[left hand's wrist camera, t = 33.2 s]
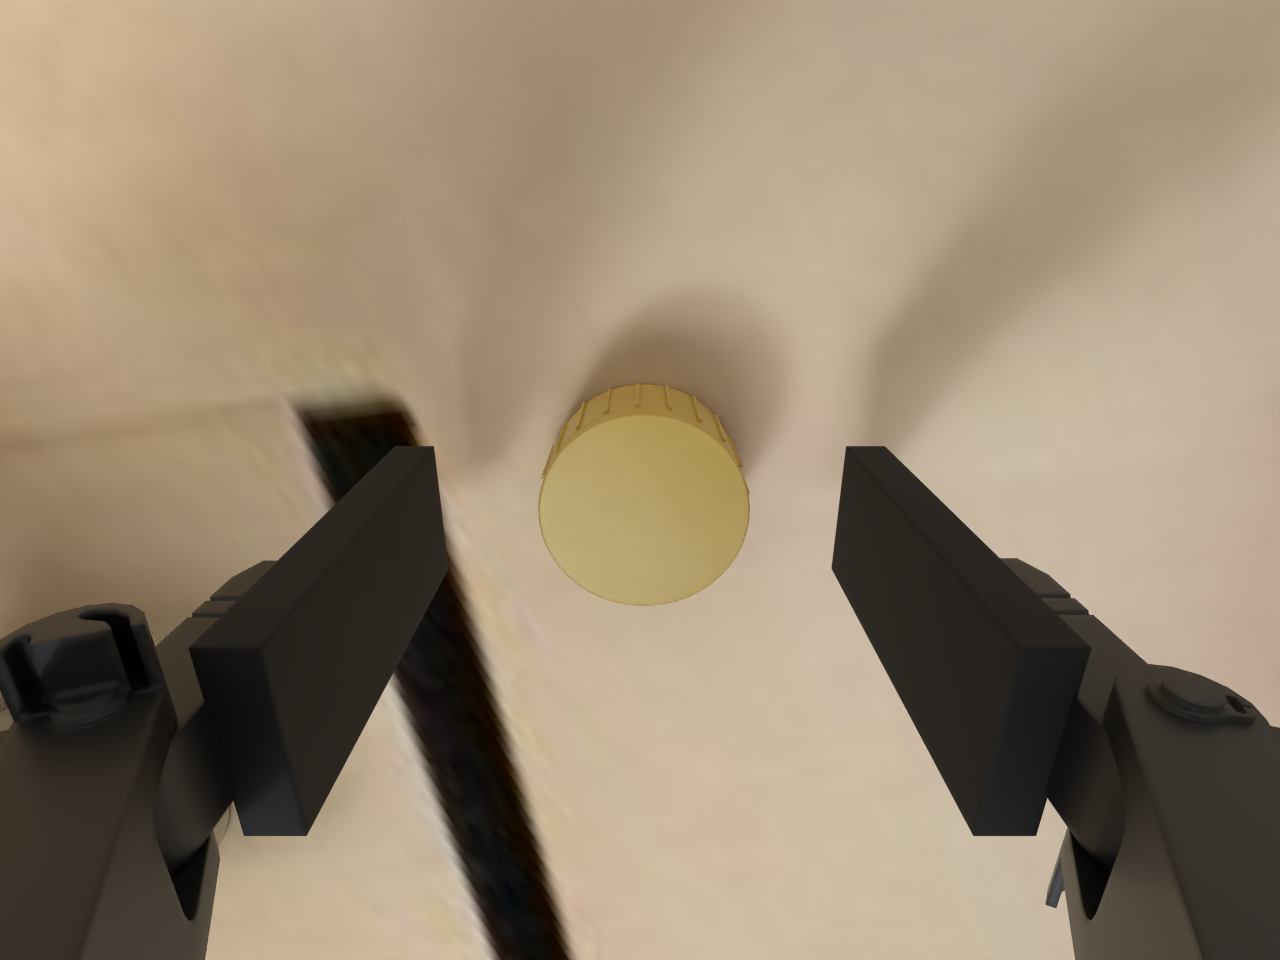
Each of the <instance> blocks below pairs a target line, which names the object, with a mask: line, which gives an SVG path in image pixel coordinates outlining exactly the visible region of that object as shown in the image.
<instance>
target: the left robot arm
mask: <svg viewBox="0 0 1280 960" xmlns="http://www.w3.org/2000/svg"><path fill="white" fill-rule="evenodd" d="M447 570H448V561H447V552H446V544H445V536H444V527H443V519H442V511H441V502H440V494H439V486H438V477H437V469H436V461H435V452H434V446H395V447H394V448H393V449H392V450H391V451H390V452H389V453H388V454H387V455H386V456H385V457H384V458H383V459H382V460H381V461H380V462H379V463H378V464H377V465H376V466H374V467H373V468H372V469H371V470H370V471H369V472H368V473H367V474H366V475H365V476H364V477H363V478H362V479H361V480H360V481H359V482H358V483H357V484H356V485H355V486H354V487H353V488H352V489H351V490H350V491H349V492H348V493H347V494H346V495H345V496H344V497H343V498H342V499H341V500H340V501H339V502H338V503H337V504H336V505H334V506H333V507H332V508H331V509H330V510H329V511H328V512H327V513H326V514H325V515H324V516H323V517H322V518H321V519H320V520H319V521H318V522H317V523H316V524H315V525H314V526H313V527H312V528H311V529H310V530H309V531H308V532H307V533H306V534H305V535H304V536H303V537H302V538H301V539H300V540H299V541H298V542H297V543H295V544H294V545H293V546H292V547H291V548H290V549H289V550H288V551H287V552H286V553H285V554H284V555H283V556H282V557H281V558H280V559H279V560H278V561H262V562H260V563H258V564H256V565H255V566H253V567H251V568H249V569H247V570H245V571H243V572H241V573H239V574H237V575H236V576H234V577H232V578H231V579H230V580H229V581H227V582H226V583H225V584H224V585H223V586H222V587H221V588H220V589H219V590H218V591H216V592H215V593H214V594H213V595H212V596H211V597H210V601H205V602H204V603H203V604H202V605H201V606H200V607H199V608H198V609H197V610H195V611H194V612H193V613H192V618H187V619H186V620H184V621H183V622H182V623H181V624H180V625H179V626H178V627H177V628H176V629H174V630H173V631H172V632H171V633H170V634H169V635H168V636H167V637H166V638H165V639H163V640H162V641H161V642H160V643H159V644H158V645H157V646H156V647H155V646H154V643H153V640H152V636H151V633H150V630H149V627H148V624H147V621H146V618H145V615H144V612H143V611H141V610H139V609H138V608H136V607H134V606H133V605H125V604H115V603H110V604H100V605H90V606H84V607H80V608H76V609H72V610H68V611H64V612H60V613H56V614H53V615H51V616H48V617H46V618H43V619H40V620H38V621H35V622H33V623H30V624H28V625H25V626H24V627H22V628H20V629H18V630H17V631H15V632H13V633H11V634H9V635H8V636H6V637H4V638H2V639H1V640H0V691H1V693H2V695H3V698H4V700H5V702H6V704H7V707H8V709H9V711H10V714H11V716H12V718H13V723H12V724H11V726H10V728H9V730H4V731H0V960H205V956H206V949H207V943H208V936H209V929H210V923H211V916H212V909H213V902H214V896H215V889H216V882H217V876H218V869H219V862H220V856H219V849H218V843H217V840H216V837H215V834H214V831H213V829H214V828H215V826H216V825H217V823H218V822H219V820H220V819H221V817H222V816H223V815H224V813H225V812H226V810H227V809H228V807H229V806H230V804H231V803H232V801H233V800H234V804H235V807H236V810H237V814H238V817H239V820H240V824H241V827H242V831H243V834H244V836H307V834H308V832H309V830H310V828H311V827H312V825H313V823H314V821H315V819H316V817H317V815H318V813H319V811H320V810H321V808H322V806H323V804H324V802H325V800H326V798H327V796H328V794H329V793H330V791H331V789H332V787H333V785H334V783H335V781H336V779H337V778H338V776H339V774H340V772H341V770H342V768H343V766H344V764H345V762H346V761H347V759H348V757H349V755H350V753H351V751H352V749H353V747H354V746H355V744H356V742H357V740H358V738H359V736H360V734H361V732H362V730H363V729H364V727H365V725H366V723H367V721H368V719H369V717H370V715H371V713H372V712H373V710H374V708H375V706H376V704H377V702H378V700H379V698H380V697H381V695H382V693H383V691H384V689H385V687H386V685H387V683H388V681H389V680H390V678H391V676H392V674H393V672H394V670H395V668H396V666H397V665H398V663H399V661H400V659H401V657H402V655H403V653H404V651H405V649H406V648H407V646H408V644H409V642H410V640H411V638H412V636H413V634H414V632H415V631H416V629H417V627H418V625H419V623H420V621H421V619H422V617H423V616H424V614H425V612H426V610H427V608H428V606H429V604H430V602H431V600H432V599H433V597H434V595H435V593H436V591H437V589H438V587H439V585H440V584H441V582H442V580H443V578H444V576H445V574H446V572H447ZM832 570H833V572H834V574H835V576H836V578H837V580H838V582H839V584H840V585H841V587H842V589H843V591H844V593H845V595H846V597H847V599H848V600H849V602H850V604H851V606H852V608H853V610H854V612H855V614H856V616H857V617H858V619H859V621H860V623H861V625H862V627H863V629H864V631H865V632H866V634H867V636H868V638H869V640H870V642H871V644H872V646H873V648H874V649H875V651H876V653H877V655H878V657H879V659H880V661H881V663H882V664H883V666H884V668H885V670H886V672H887V674H888V676H889V678H890V680H891V681H892V683H893V685H894V687H895V689H896V691H897V693H898V695H899V697H900V698H901V700H902V702H903V704H904V706H905V708H906V710H907V712H908V713H909V715H910V717H911V719H912V721H913V723H914V725H915V727H916V729H917V730H918V732H919V734H920V736H921V738H922V740H923V742H924V744H925V745H926V747H927V749H928V751H929V753H930V755H931V757H932V759H933V761H934V762H935V764H936V766H937V768H938V770H939V772H940V774H941V776H942V778H943V779H944V781H945V783H946V785H947V787H948V789H949V791H950V793H951V794H952V796H953V798H954V800H955V802H956V804H957V806H958V808H959V810H960V811H961V813H962V815H963V817H964V819H965V821H966V823H967V825H968V826H969V828H970V830H971V832H972V834H973V836H1036V834H1037V831H1038V827H1039V824H1040V821H1041V817H1042V814H1043V810H1044V807H1045V804H1046V800H1047V798H1048V799H1049V801H1050V802H1051V803H1052V805H1053V806H1054V808H1055V809H1056V811H1057V812H1058V814H1059V815H1060V817H1061V818H1062V819H1063V821H1064V822H1065V824H1066V825H1067V827H1068V828H1067V831H1066V834H1065V837H1064V840H1063V843H1062V847H1061V850H1060V853H1059V856H1058V859H1057V862H1056V865H1055V869H1054V872H1053V875H1052V878H1051V881H1050V884H1049V887H1048V892H1047V898H1046V905H1048V906H1051V907H1054V908H1056V907H1057V904H1058V901H1059V898H1060V895H1061V892H1063V891H1064V890H1065V894H1066V900H1067V907H1068V914H1069V920H1070V927H1071V934H1072V940H1073V947H1074V954H1075V960H1280V728H1278V727H1273V726H1270V725H1269V723H1268V721H1267V720H1266V719H1265V718H1264V716H1263V715H1262V714H1261V713H1260V712H1259V711H1258V710H1257V709H1256V708H1255V706H1254V705H1253V704H1252V703H1250V702H1249V701H1247V700H1246V699H1244V698H1243V697H1241V696H1240V695H1238V694H1237V693H1235V692H1234V691H1232V690H1231V689H1229V688H1228V687H1226V686H1223V685H1221V684H1219V683H1217V682H1215V681H1212V680H1210V679H1208V678H1206V677H1204V676H1201V675H1199V674H1195V673H1192V672H1188V671H1185V670H1181V669H1178V668H1175V667H1169V666H1161V665H1153V664H1147V663H1146V662H1145V661H1144V660H1143V659H1142V658H1140V657H1139V656H1138V655H1137V654H1136V653H1135V652H1134V651H1133V650H1132V649H1130V648H1129V647H1128V646H1127V645H1126V644H1125V643H1124V642H1123V641H1122V640H1120V639H1119V638H1118V637H1117V636H1116V635H1115V634H1114V633H1113V632H1112V631H1110V630H1109V629H1108V628H1107V627H1106V626H1105V625H1104V624H1103V623H1102V622H1100V621H1099V620H1098V619H1097V618H1096V617H1095V616H1094V615H1089V613H1088V610H1087V609H1086V608H1085V607H1084V606H1083V605H1081V604H1080V603H1079V602H1078V601H1077V600H1076V599H1075V598H1071V597H1070V594H1069V593H1068V592H1067V591H1066V590H1065V589H1064V588H1063V587H1061V586H1060V585H1059V584H1058V583H1057V582H1056V581H1055V580H1054V579H1053V578H1051V577H1050V576H1049V575H1048V574H1046V573H1044V572H1042V571H1040V570H1038V569H1036V568H1034V567H1032V566H1031V565H1029V564H1027V563H1025V562H1023V561H1021V560H1019V559H1017V558H999V557H998V556H997V555H996V554H995V553H994V552H993V551H992V550H991V549H990V548H989V547H988V546H987V545H986V544H985V543H984V542H982V541H981V540H980V539H979V538H978V537H977V536H976V535H975V534H974V533H973V532H972V531H971V530H970V529H969V528H968V527H967V526H966V525H965V524H964V523H963V522H962V521H961V520H960V519H959V518H958V517H957V516H956V515H955V514H954V513H953V512H952V511H951V510H950V509H949V508H948V507H947V506H946V505H945V504H943V503H942V502H941V501H940V500H939V499H938V498H937V497H936V496H935V495H934V494H933V493H932V492H931V491H930V490H929V489H928V488H927V487H926V486H925V485H924V484H923V483H922V482H921V481H920V480H919V479H918V478H917V477H916V476H915V475H914V474H913V473H912V472H911V471H910V470H909V469H908V468H907V467H906V466H904V465H903V464H902V463H901V462H900V461H899V460H898V459H897V458H896V457H895V456H894V455H893V454H892V453H891V452H890V451H889V450H888V449H887V448H886V447H885V446H846V452H845V461H844V469H843V477H842V486H841V494H840V502H839V511H838V519H837V527H836V536H835V544H834V552H833V561H832Z"/></svg>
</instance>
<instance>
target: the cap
mask: <svg viewBox="0 0 1280 960" xmlns="http://www.w3.org/2000/svg"><path fill="white" fill-rule="evenodd" d="M740 467H742V463H741V461H740V458H739V455H738V453H737V450H736V448H735V445H734V443H733V440H732V438H731V436H730V435H729V436H727V434H726V432H725V430H724V428H723V426H722V425H721V423H720V421H719V419H718V416H717V414H716V413H712V412H711V411H710V410H709V409H708V408H707V407H705V406H704V405H703V404H701V403H700V402H699V401H698V400H696V397H695V396H694V395H692V396H689V395H687V394H685V393H683V392H681V391H678V390H676V389H672V388H669V385H665V386H660V385H652V384H640V382H636V385H628V386H623V387H619V388H615V389H612V390H611V388H609V389H607V392H604V393H602V394H600V395H598V396H597V397H595V398H593V399H591V400H590V401H589V402H587V403H586V402H583V403H582V405H581V408H580V409H579V410H578V411H577V412H576V413H575V414H574V415H573V416H572V417H571V419H570V420H569V421H568V422H564V424H563V426H562V429H561V432H560V435H559V437H558V440H557V443H556V446H553V447H552V450H551V452H550V455H549V458H548V460H547V463H546V466H545V469H544V471H543V474H542V478H544V481H543V483H542V488H541V492H540V497H539V522H540V527H541V532H542V535H543V538H544V541H545V544H546V546H547V548H548V550H549V552H550V554H551V556H552V557H553V559H554V560H555V562H556V563H557V564H558V566H559V567H560V568H561V569H562V570H563V571H564V572H565V574H566V575H567V576H568V577H570V578H571V579H572V580H573V581H574V582H575V583H577V584H578V585H579V586H581V587H582V588H584V589H586V590H587V591H589V592H591V593H593V594H595V595H597V596H599V597H601V598H604V599H607V600H610V601H613V602H618V603H622V604H628V605H637V606H651V605H660V604H666V603H670V602H675V601H678V600H681V599H684V598H686V597H689V596H691V595H693V594H695V593H697V592H699V591H701V590H702V589H704V588H705V587H707V586H708V585H710V584H711V583H712V582H714V581H715V580H716V579H717V578H718V577H720V576H721V575H722V573H723V572H724V571H725V570H726V569H727V568H728V567H729V566H730V564H731V563H732V561H733V560H734V559H735V557H736V556H737V554H738V552H739V550H740V548H741V546H742V544H743V541H744V538H745V536H746V532H747V528H748V523H749V512H750V506H749V490H748V487H747V485H746V482H745V479H744V477H743V474H742V472H741V469H740Z"/></svg>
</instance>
